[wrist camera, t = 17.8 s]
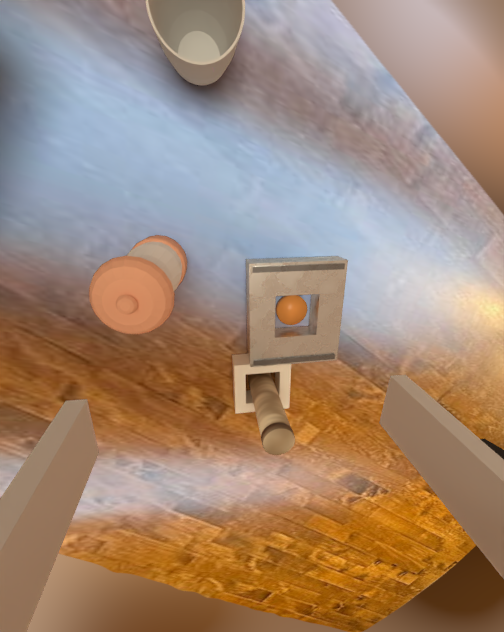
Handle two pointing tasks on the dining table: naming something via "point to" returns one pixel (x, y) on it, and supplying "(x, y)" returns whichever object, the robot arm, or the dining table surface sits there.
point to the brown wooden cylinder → (270, 415)
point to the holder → (243, 368)
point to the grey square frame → (294, 279)
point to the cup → (198, 35)
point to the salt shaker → (139, 286)
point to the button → (291, 309)
